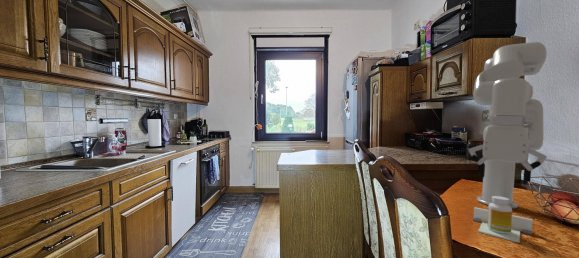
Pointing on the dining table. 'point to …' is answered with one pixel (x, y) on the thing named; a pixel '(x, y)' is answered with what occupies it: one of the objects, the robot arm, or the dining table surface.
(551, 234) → the dining table surface
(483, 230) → the mat
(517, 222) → the low wall
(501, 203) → the supplement bottle
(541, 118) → the robot arm
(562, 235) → the dining table surface
